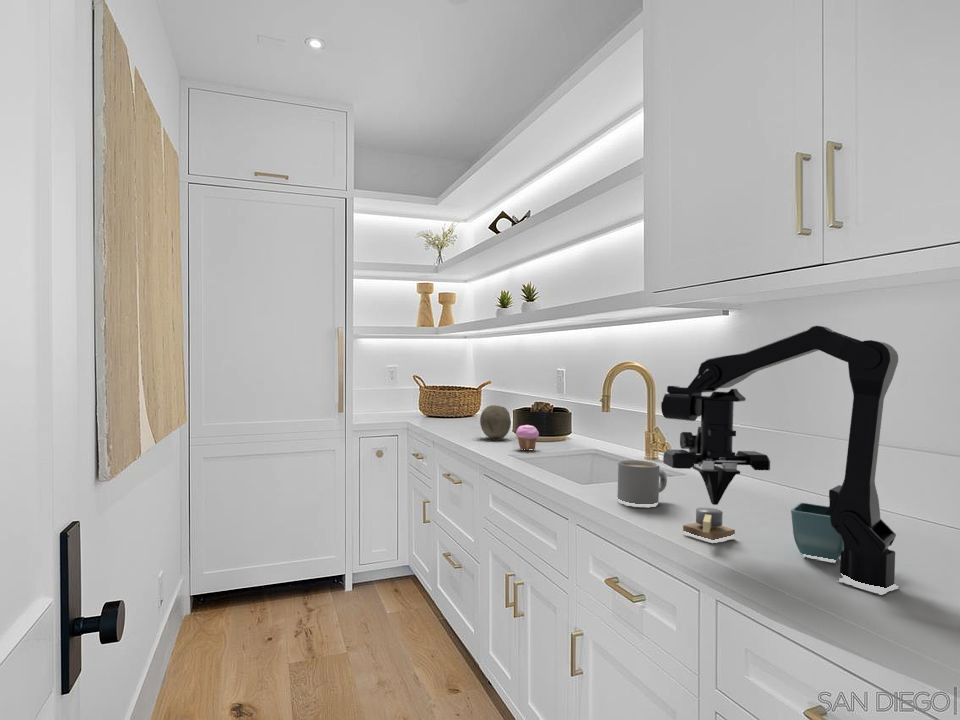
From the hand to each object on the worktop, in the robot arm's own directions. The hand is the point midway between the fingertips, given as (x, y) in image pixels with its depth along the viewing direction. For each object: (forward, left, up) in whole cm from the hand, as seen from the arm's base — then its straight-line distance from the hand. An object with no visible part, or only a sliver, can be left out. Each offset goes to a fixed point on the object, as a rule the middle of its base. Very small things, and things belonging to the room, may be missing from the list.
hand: (714, 504), depth 111 cm
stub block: (+4, -5, -8) cm, 10 cm away
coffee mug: (+30, -15, -8) cm, 35 cm away
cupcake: (+110, -38, -8) cm, 117 cm away
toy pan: (+3, -2, -5) cm, 6 cm away
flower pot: (-14, -13, -8) cm, 20 cm away
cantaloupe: (+140, -43, -8) cm, 147 cm away
